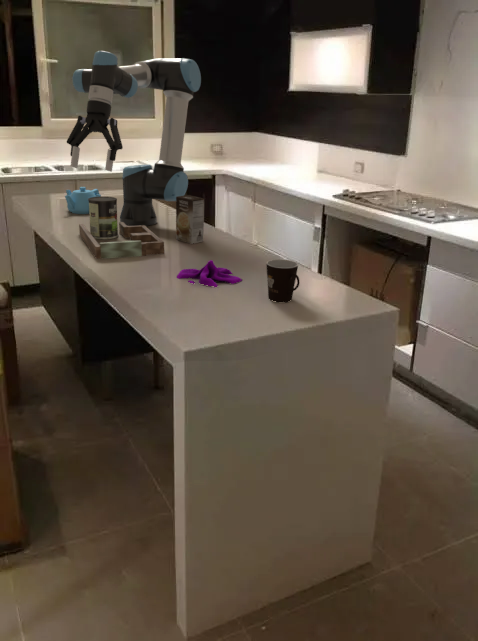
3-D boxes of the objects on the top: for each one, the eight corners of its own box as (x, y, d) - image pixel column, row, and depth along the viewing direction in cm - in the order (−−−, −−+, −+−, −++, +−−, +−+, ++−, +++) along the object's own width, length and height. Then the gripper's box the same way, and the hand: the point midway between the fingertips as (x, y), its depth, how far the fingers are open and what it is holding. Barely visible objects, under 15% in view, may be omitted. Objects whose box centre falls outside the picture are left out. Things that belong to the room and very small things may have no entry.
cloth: (168, 274, 191) (168, 254, 188) (223, 268, 198) (223, 249, 196) (194, 295, 172) (195, 274, 170) (254, 288, 180) (255, 268, 177)
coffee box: (175, 239, 230) (174, 196, 224) (187, 237, 235) (187, 194, 229) (191, 244, 224) (192, 199, 219) (204, 241, 229) (205, 198, 223)
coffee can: (122, 234, 235) (121, 197, 230) (111, 240, 225) (110, 201, 220) (96, 232, 237) (95, 195, 232) (85, 238, 227) (83, 199, 222)
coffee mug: (262, 293, 174) (264, 259, 170) (293, 293, 174) (295, 259, 171) (268, 307, 163) (270, 271, 159) (300, 307, 164) (303, 271, 160)
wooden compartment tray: (139, 231, 241) (139, 218, 239) (164, 254, 210) (164, 239, 208) (79, 234, 232) (78, 221, 231) (96, 259, 201) (95, 244, 200)
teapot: (102, 215, 268) (100, 189, 264) (66, 215, 265) (64, 190, 261) (101, 208, 282) (100, 184, 278) (67, 208, 279) (65, 184, 275)
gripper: (61, 97, 200) (52, 163, 202) (126, 100, 191) (116, 169, 193) (75, 104, 207) (67, 167, 209) (139, 107, 198) (129, 174, 200)
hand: (91, 169), depth 201 cm, fingers open, 13 cm apart
